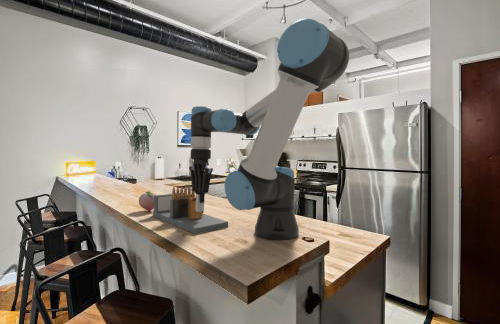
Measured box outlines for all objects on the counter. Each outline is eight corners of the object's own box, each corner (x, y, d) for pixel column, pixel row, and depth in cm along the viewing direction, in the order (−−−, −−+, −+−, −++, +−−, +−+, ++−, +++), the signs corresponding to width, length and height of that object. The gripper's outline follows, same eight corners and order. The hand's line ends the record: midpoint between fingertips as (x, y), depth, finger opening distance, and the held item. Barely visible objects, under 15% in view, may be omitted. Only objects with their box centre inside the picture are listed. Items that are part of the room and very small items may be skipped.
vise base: (228, 226, 98) (228, 203, 98) (195, 234, 88) (195, 207, 88) (181, 211, 123) (182, 192, 123) (152, 215, 114) (152, 195, 114)
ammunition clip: (172, 216, 104) (172, 186, 104) (170, 216, 105) (170, 186, 105) (195, 213, 111) (196, 185, 111) (193, 212, 113) (193, 184, 112)
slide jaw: (211, 215, 106) (211, 196, 105) (180, 221, 96) (180, 199, 96) (200, 212, 112) (200, 193, 112) (169, 217, 102) (169, 196, 102)
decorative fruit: (135, 210, 123) (135, 189, 123) (152, 208, 129) (152, 188, 129) (143, 214, 116) (143, 192, 116) (160, 211, 122) (161, 190, 122)
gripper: (219, 149, 96) (218, 212, 97) (200, 148, 106) (199, 206, 106) (201, 148, 91) (200, 215, 92) (183, 148, 101) (182, 209, 101)
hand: (199, 210), depth 99 cm, fingers closed
